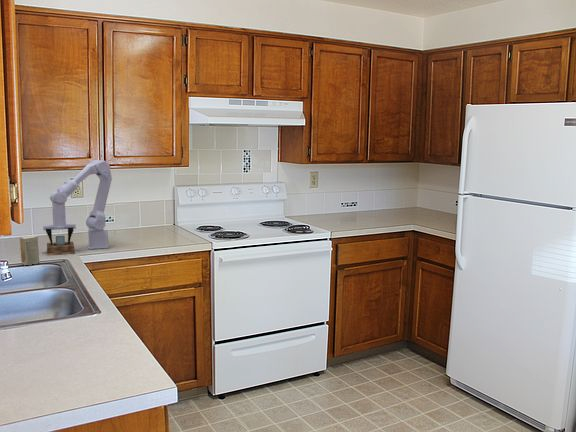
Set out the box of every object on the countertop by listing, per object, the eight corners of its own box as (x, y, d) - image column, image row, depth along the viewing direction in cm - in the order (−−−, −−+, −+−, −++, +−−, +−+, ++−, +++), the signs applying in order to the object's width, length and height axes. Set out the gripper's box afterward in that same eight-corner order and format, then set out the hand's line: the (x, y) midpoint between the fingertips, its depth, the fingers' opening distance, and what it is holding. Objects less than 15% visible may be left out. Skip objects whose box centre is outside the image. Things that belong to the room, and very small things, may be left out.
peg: (64, 249, 279) (63, 235, 278) (65, 251, 275) (65, 236, 274) (55, 250, 277) (55, 235, 276) (56, 251, 273) (56, 237, 272)
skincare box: (35, 262, 254) (33, 235, 252) (39, 263, 251) (38, 236, 250) (20, 264, 249) (19, 237, 248) (25, 266, 247) (24, 238, 245)
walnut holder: (73, 248, 284) (73, 241, 284) (74, 253, 273) (74, 245, 273) (47, 250, 280) (46, 242, 279) (47, 255, 269) (47, 247, 268)
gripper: (42, 218, 267) (44, 246, 269) (75, 216, 273) (76, 244, 275) (42, 216, 274) (44, 243, 276) (74, 214, 280) (75, 242, 281)
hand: (60, 244), depth 276 cm, fingers open, 7 cm apart
